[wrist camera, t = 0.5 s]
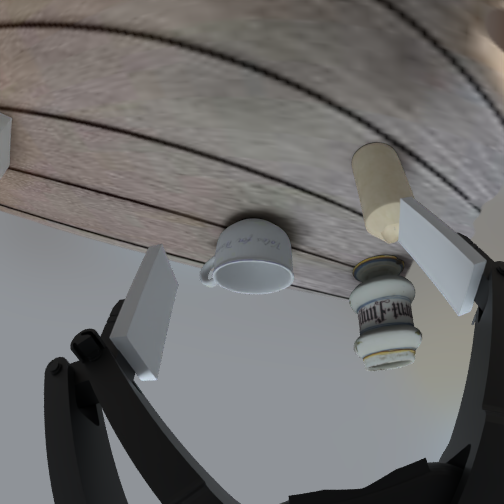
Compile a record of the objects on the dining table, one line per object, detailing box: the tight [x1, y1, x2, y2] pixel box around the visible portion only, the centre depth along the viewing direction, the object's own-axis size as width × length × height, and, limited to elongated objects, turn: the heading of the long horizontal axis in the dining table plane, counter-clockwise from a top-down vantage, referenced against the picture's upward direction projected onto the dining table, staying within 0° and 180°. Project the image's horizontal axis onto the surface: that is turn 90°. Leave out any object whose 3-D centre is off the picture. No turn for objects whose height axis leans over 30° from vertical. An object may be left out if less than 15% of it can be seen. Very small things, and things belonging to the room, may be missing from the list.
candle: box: [352, 143, 415, 244], centre depth 27 cm, size 6×6×10 cm
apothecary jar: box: [349, 255, 422, 371], centre depth 45 cm, size 12×12×18 cm
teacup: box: [200, 218, 294, 294], centre depth 41 cm, size 14×11×8 cm
